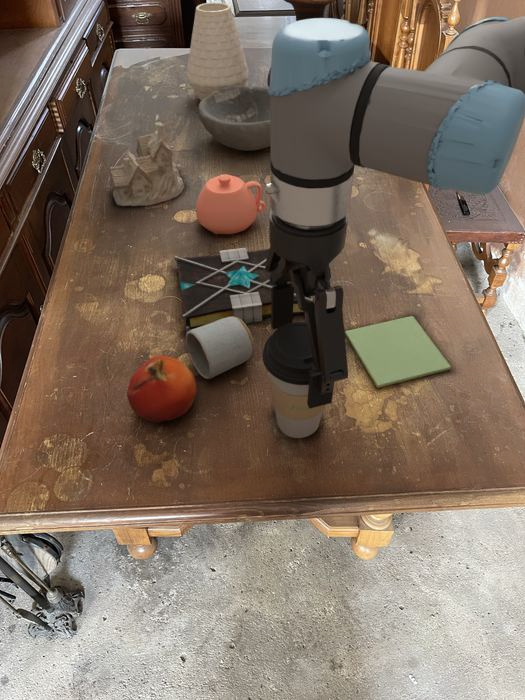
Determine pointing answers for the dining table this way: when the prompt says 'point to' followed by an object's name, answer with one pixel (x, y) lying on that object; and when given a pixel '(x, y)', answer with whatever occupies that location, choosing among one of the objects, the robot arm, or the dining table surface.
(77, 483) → the dining table surface
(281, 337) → the coffee cup
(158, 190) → the ceramic cottage
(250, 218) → the sugar bowl
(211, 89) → the vase
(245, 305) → the book
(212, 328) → the ceramic mug
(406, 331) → the sage mat
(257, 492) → the dining table surface
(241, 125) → the bowl
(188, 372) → the tomato
